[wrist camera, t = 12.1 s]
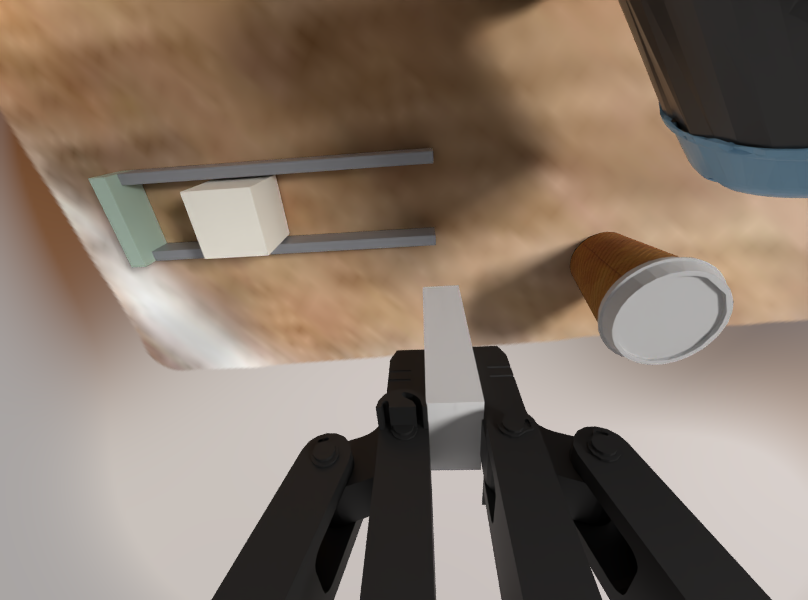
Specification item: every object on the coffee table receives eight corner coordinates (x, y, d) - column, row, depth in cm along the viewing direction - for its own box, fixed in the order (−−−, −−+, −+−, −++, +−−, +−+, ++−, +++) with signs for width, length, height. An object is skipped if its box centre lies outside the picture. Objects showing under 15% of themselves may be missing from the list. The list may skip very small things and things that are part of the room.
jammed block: (215, 178, 34) (179, 192, 29) (275, 174, 34) (249, 187, 29) (234, 237, 37) (204, 258, 32) (289, 233, 37) (268, 255, 32)
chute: (121, 170, 35) (88, 178, 31) (431, 147, 33) (433, 153, 29) (157, 252, 39) (131, 267, 35) (434, 236, 37) (436, 250, 33)
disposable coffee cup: (653, 280, 38) (741, 346, 28) (565, 310, 41) (616, 382, 30) (641, 200, 34) (739, 243, 24) (544, 239, 37) (594, 294, 26)
